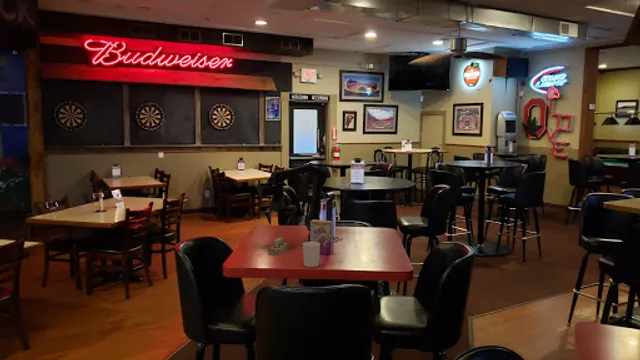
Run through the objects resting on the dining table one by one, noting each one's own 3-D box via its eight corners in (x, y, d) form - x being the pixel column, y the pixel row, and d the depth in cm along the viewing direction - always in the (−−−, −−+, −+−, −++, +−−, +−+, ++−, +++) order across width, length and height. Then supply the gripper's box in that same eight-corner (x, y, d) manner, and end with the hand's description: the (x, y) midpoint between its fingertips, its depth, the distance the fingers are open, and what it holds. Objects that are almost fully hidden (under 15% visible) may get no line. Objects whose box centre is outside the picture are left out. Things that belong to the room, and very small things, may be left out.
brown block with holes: (289, 248, 250) (289, 243, 250) (279, 255, 237) (279, 249, 236) (278, 248, 252) (278, 242, 251) (268, 254, 238) (268, 248, 238)
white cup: (302, 263, 224) (302, 241, 223) (319, 262, 224) (319, 241, 223) (303, 267, 216) (303, 245, 215) (320, 267, 217) (320, 245, 216)
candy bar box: (309, 253, 241) (309, 221, 239) (312, 251, 246) (312, 219, 244) (330, 255, 237) (330, 222, 236) (333, 253, 242) (334, 220, 240)
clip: (283, 249, 248) (283, 237, 247) (278, 252, 240) (278, 240, 240) (279, 248, 248) (279, 237, 248) (274, 252, 241) (274, 240, 240)
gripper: (255, 197, 244) (256, 227, 245) (291, 197, 239) (291, 228, 241) (262, 193, 254) (263, 223, 256) (297, 194, 250) (297, 224, 252)
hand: (278, 224), depth 251 cm, fingers open, 9 cm apart
